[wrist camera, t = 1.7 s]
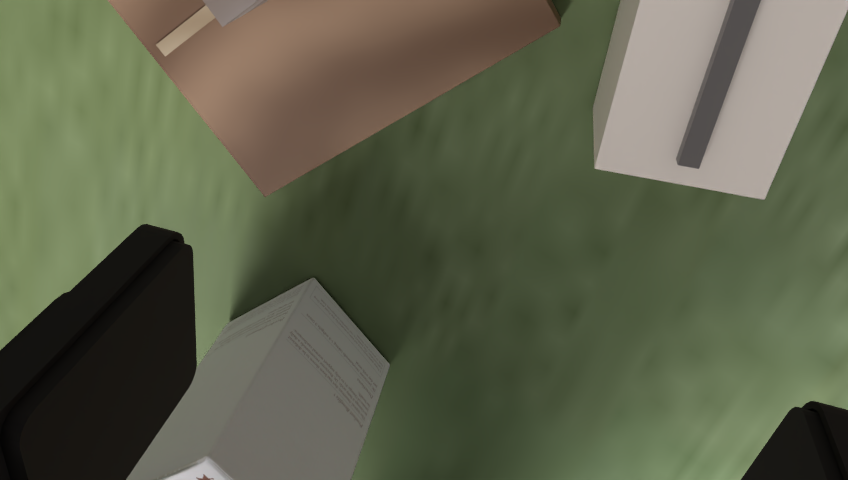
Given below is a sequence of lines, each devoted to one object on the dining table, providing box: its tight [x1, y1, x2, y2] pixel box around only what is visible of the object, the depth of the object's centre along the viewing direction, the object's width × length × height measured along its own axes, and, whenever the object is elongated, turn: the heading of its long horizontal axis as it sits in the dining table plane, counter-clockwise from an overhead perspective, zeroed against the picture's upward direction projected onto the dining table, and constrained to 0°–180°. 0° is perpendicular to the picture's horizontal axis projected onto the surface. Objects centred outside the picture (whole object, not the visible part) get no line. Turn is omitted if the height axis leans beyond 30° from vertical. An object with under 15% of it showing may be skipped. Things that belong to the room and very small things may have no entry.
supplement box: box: [126, 278, 390, 480], centre depth 34 cm, size 7×7×13 cm
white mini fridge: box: [593, 0, 848, 200], centre depth 24 cm, size 6×7×6 cm
